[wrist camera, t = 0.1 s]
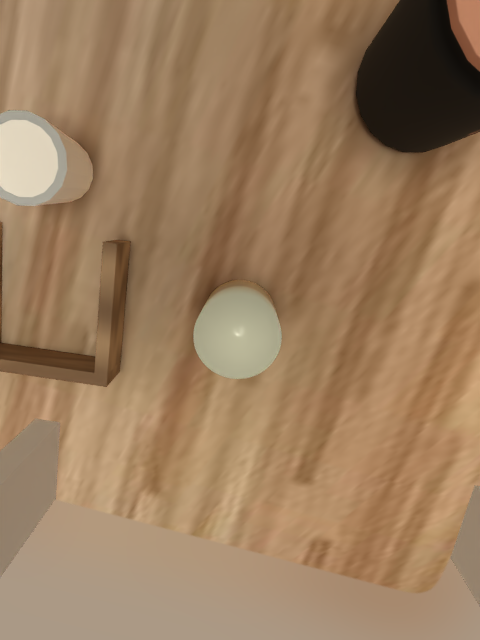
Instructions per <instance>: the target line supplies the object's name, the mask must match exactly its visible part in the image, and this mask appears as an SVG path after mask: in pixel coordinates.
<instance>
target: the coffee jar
mask: <svg viewBox="0 0 480 640" xmlns="http://www.w3.org/2000/svg"><path fill="white" fill-rule="evenodd" d="M356 96H357V100H358V105H359V110H360V114H361V117H362V118H363V120H364V122H365V123H366V125H367V127H368V129H369V130H370V132H371V133H372V134H373V135H374V136H375V137H377V138H378V139H379V140H380V141H381V142H382V143H384V144H385V145H386V146H389V147H392V148H394V149H397V150H400V151H402V152H426V151H429V150H432V149H435V148H438V147H442V146H444V145H447V144H449V143H452V142H454V141H457V140H460V139H462V138H465V137H467V136H470V135H472V134H475V133H477V132H480V0H400V1H399V3H398V4H397V6H396V7H395V9H394V10H393V12H392V13H391V15H390V16H389V18H388V19H387V20H386V22H385V23H384V25H383V26H382V28H381V29H380V31H379V32H378V34H377V35H376V37H375V38H374V40H373V41H372V43H371V44H370V46H369V47H368V48H367V50H366V52H365V55H364V57H363V60H362V63H361V65H360V68H359V71H358V78H357V90H356Z"/></svg>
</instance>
